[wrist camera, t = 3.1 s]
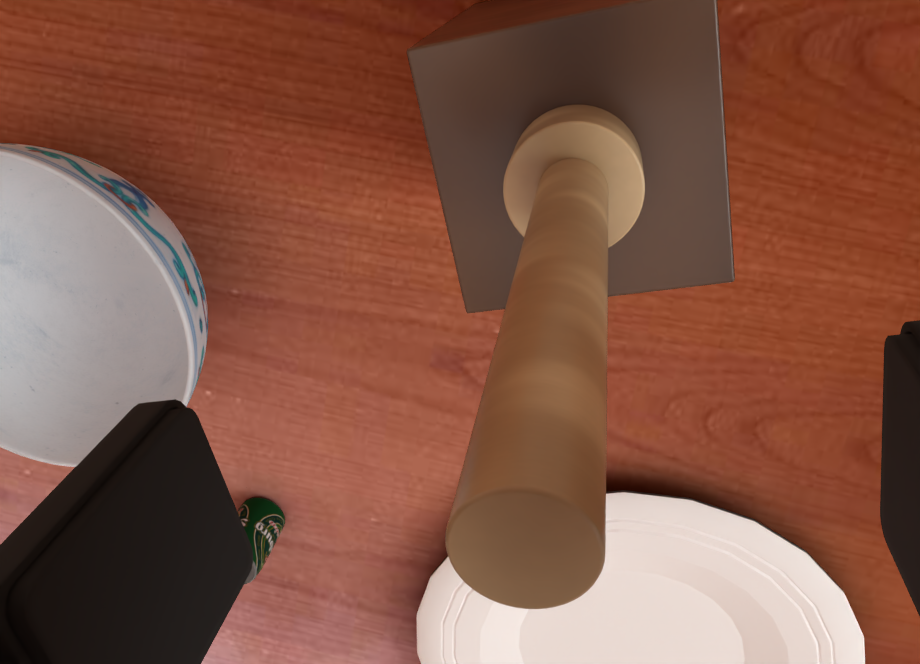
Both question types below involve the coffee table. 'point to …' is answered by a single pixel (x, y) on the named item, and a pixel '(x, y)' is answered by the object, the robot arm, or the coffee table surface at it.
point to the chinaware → (88, 304)
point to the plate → (659, 600)
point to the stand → (581, 83)
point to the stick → (549, 370)
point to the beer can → (261, 529)
